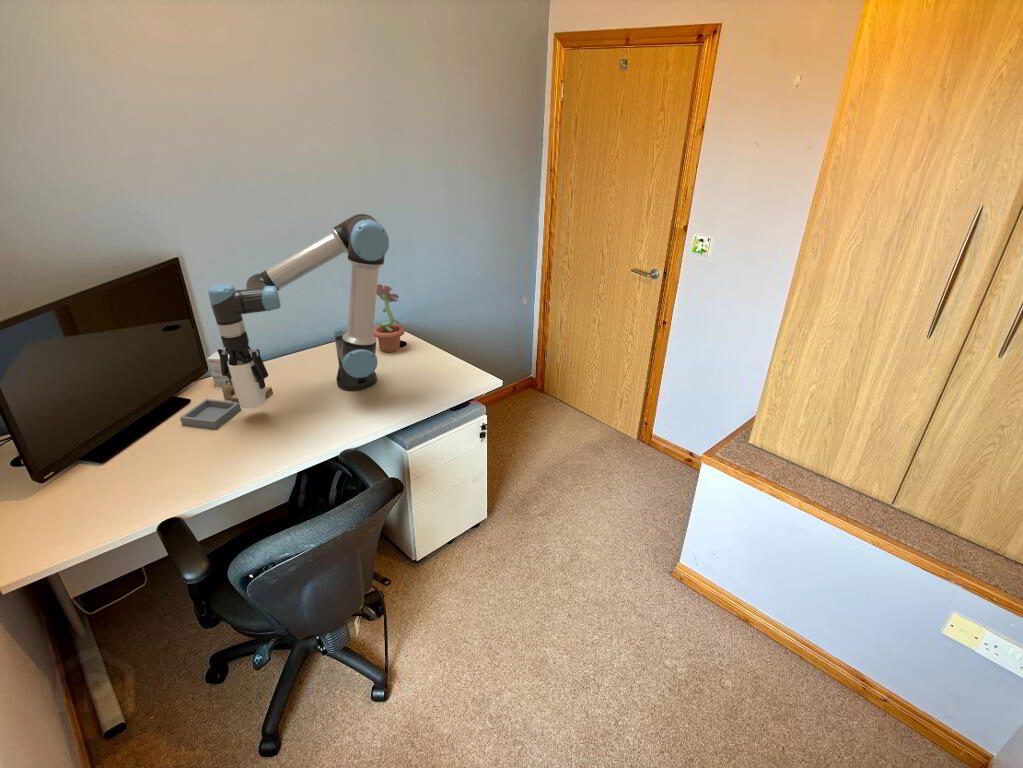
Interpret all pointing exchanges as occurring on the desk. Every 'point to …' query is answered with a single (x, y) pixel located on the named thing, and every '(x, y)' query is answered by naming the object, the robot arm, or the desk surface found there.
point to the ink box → (217, 370)
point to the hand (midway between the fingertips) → (250, 395)
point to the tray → (210, 414)
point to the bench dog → (228, 391)
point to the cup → (245, 385)
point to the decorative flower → (388, 323)
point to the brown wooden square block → (268, 393)
